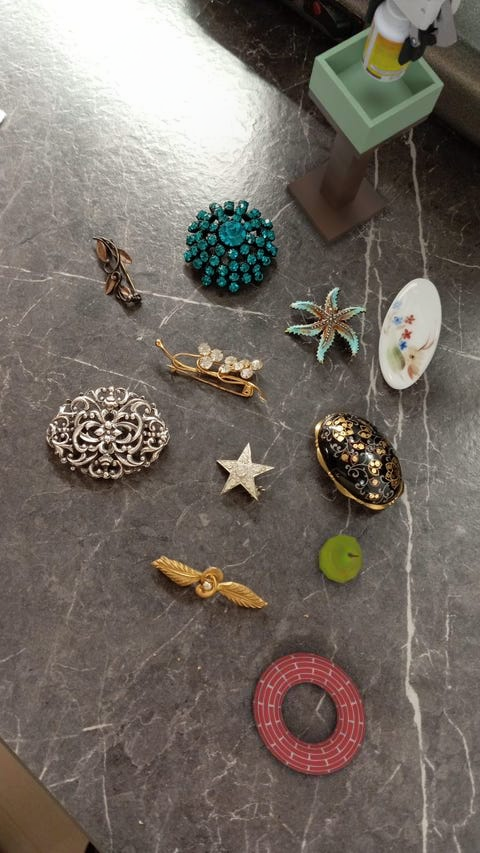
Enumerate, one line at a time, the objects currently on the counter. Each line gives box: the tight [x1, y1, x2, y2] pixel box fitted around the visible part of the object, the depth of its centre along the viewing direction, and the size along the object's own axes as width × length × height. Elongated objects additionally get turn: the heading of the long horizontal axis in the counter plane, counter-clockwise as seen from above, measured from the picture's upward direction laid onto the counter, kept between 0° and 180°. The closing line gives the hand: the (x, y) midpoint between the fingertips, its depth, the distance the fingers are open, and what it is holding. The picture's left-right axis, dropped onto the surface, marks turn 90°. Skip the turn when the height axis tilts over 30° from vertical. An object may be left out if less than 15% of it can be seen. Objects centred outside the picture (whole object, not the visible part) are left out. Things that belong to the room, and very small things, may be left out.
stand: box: [285, 88, 430, 246], centre depth 126 cm, size 11×11×26 cm
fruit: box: [318, 533, 364, 584], centre depth 119 cm, size 6×6×12 cm
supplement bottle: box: [362, 0, 411, 82], centre depth 102 cm, size 6×6×10 cm
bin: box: [308, 26, 445, 154], centre depth 111 cm, size 11×11×6 cm
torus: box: [252, 652, 367, 776], centre depth 118 cm, size 16×14×4 cm
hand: (393, 36), depth 102 cm, fingers closed on supplement bottle, 5 cm apart
